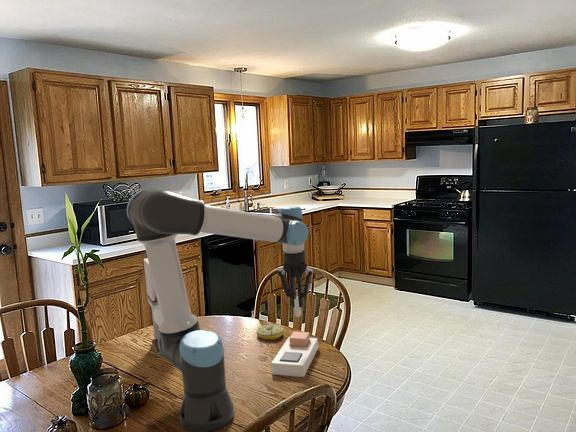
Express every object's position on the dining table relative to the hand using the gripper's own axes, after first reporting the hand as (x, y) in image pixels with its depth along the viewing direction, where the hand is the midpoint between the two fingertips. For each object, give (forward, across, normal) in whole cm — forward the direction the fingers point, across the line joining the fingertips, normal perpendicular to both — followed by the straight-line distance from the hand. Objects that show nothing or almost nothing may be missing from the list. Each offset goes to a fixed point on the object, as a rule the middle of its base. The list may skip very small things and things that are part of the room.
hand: (298, 315), depth 162 cm
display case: (+15, +54, +1) cm, 56 cm away
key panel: (+15, +1, +4) cm, 16 cm away
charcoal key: (+14, +1, +10) cm, 17 cm away
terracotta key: (+11, +1, -2) cm, 11 cm away
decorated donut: (+16, +17, -16) cm, 28 cm away
